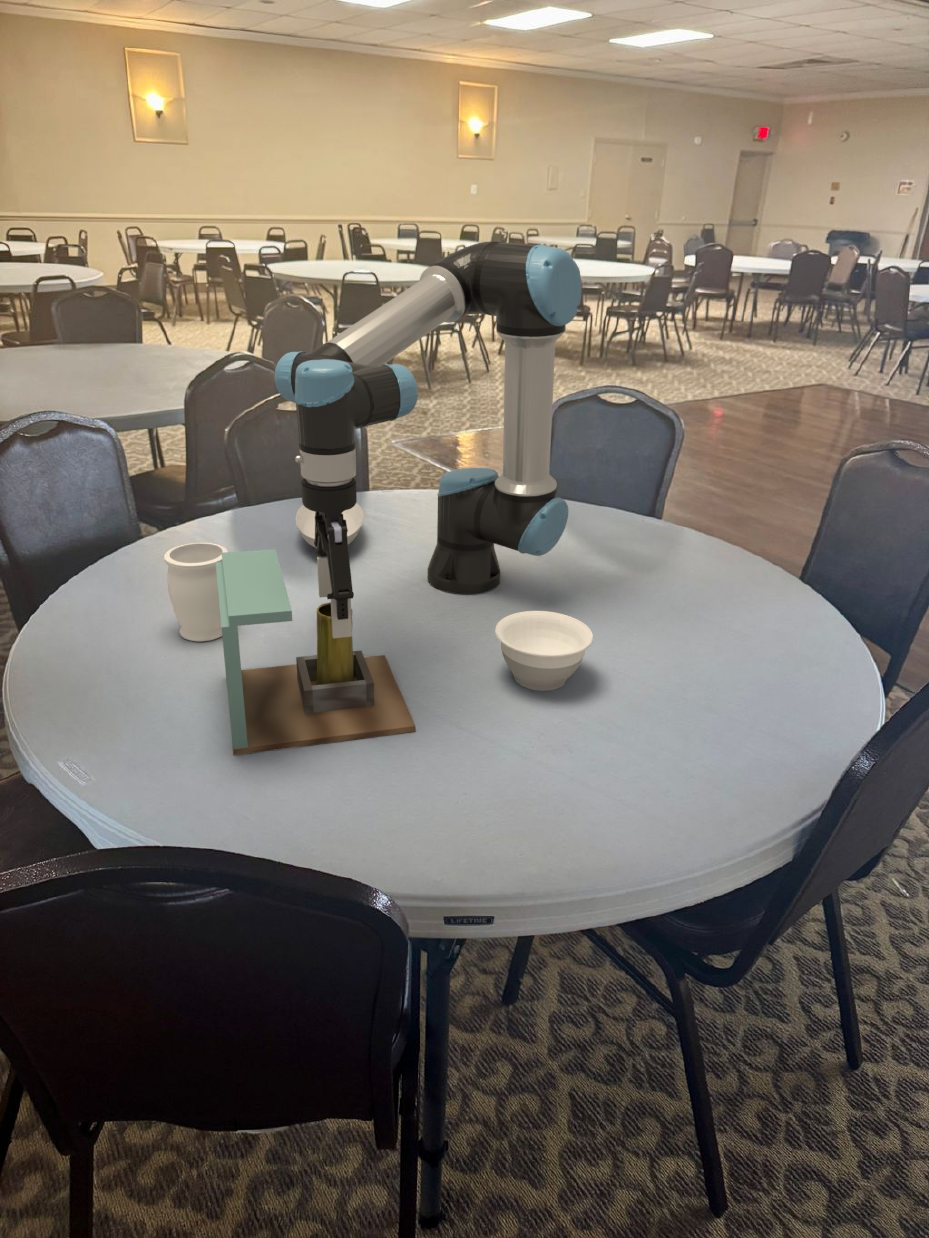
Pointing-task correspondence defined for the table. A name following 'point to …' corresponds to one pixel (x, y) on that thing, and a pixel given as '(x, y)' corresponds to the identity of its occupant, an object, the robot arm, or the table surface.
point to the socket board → (321, 705)
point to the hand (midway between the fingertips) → (334, 615)
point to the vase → (332, 651)
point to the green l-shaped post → (247, 616)
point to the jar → (195, 589)
